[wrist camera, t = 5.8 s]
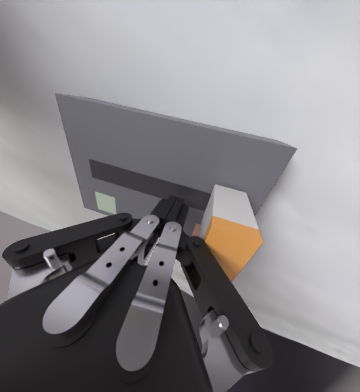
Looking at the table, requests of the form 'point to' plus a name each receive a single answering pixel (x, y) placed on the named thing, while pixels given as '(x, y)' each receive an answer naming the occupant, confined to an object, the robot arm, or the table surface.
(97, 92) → the table surface
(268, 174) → the switch panel
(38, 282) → the robot arm
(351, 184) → the table surface
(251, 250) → the lever
